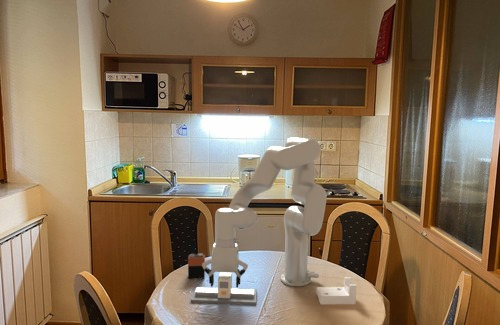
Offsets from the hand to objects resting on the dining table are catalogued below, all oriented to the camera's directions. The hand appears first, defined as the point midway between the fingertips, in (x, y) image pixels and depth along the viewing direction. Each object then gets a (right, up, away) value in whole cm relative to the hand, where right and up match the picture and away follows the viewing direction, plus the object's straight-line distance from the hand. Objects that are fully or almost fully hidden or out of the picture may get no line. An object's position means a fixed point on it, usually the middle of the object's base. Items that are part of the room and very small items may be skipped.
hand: (224, 285), depth 141 cm
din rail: (0, -5, +1) cm, 5 cm away
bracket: (+42, -6, 0) cm, 42 cm away
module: (0, -3, 0) cm, 3 cm away
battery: (-13, -2, +18) cm, 23 cm away
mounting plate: (0, -5, +1) cm, 5 cm away
